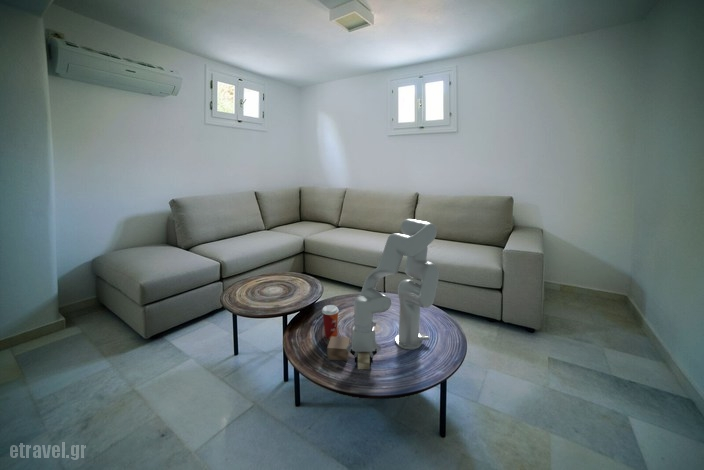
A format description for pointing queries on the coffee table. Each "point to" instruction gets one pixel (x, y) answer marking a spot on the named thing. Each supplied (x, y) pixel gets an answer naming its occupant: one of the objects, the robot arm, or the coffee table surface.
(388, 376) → the coffee table surface
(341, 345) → the tan wooden cube
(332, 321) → the coffee cup
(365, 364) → the oak block
